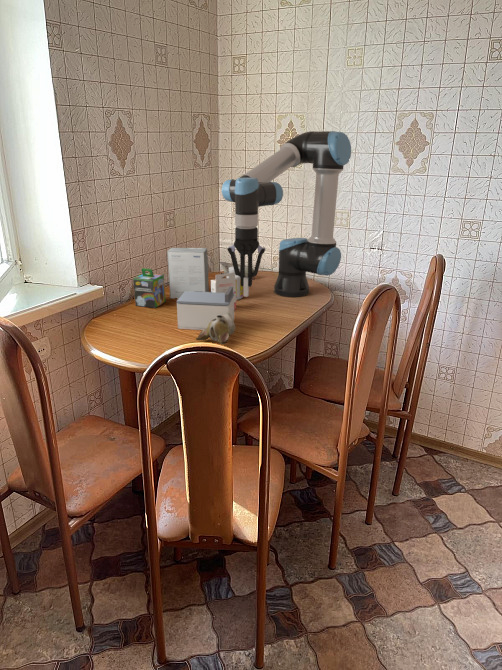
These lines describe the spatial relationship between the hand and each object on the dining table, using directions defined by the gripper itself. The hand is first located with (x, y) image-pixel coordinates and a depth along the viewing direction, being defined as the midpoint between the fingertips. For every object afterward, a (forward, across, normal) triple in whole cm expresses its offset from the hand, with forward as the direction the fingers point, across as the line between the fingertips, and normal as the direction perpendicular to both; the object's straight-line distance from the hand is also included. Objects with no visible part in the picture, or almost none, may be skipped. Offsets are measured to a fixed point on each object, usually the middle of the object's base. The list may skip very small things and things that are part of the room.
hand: (246, 295), depth 176 cm
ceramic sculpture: (+12, +7, +14) cm, 19 cm away
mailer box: (+11, +14, 0) cm, 18 cm away
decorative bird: (+12, +13, -63) cm, 66 cm away
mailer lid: (+2, +14, 0) cm, 14 cm away
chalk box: (+12, +41, -20) cm, 47 cm away
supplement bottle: (+12, +9, -33) cm, 36 cm away
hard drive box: (+12, +28, -32) cm, 44 cm away
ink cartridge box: (+12, +11, -18) cm, 24 cm away
